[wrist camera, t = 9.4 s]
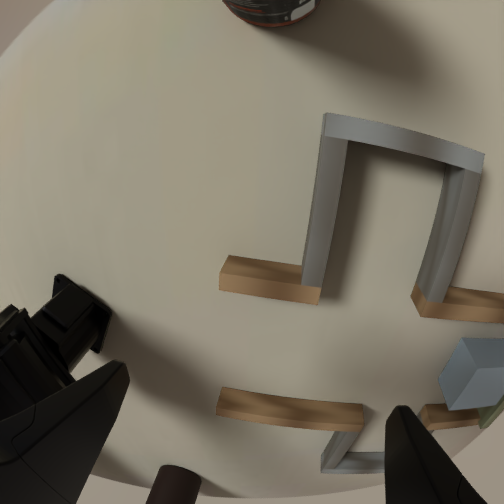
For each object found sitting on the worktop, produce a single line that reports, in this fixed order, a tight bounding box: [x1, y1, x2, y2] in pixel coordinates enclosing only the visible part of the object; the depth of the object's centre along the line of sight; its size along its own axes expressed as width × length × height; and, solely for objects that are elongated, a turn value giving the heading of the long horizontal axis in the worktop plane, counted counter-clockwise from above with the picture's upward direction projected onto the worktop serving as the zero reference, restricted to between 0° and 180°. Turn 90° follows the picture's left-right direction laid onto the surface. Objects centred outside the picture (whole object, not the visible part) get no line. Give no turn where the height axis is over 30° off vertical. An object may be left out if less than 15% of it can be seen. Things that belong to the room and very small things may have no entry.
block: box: [438, 338, 504, 410], centre depth 19 cm, size 6×5×4 cm
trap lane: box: [216, 113, 504, 474], centre depth 20 cm, size 28×34×4 cm
